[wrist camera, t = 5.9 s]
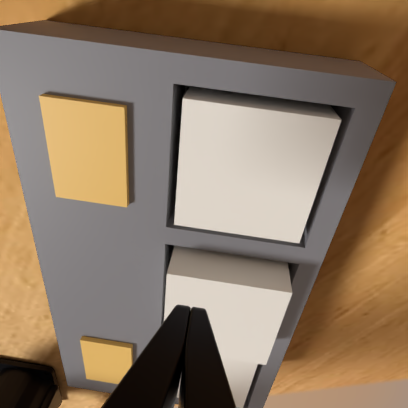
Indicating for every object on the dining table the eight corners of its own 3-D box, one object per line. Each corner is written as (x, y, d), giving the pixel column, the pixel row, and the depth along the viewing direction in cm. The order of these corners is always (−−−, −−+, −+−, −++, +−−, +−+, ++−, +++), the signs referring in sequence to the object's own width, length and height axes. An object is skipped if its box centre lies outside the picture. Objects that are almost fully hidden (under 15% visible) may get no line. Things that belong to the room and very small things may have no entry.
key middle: (171, 310, 20) (162, 348, 18) (176, 238, 17) (166, 273, 15) (263, 325, 20) (266, 365, 17) (286, 254, 16) (292, 293, 14)
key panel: (257, 364, 27) (259, 422, 23) (89, 337, 27) (65, 390, 24) (360, 61, 14) (399, 84, 11) (45, 20, 15) (-21, 28, 11)
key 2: (183, 195, 17) (173, 224, 15) (192, 82, 14) (182, 98, 12) (292, 211, 17) (299, 243, 14) (326, 100, 14) (341, 120, 11)
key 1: (169, 361, 25) (162, 395, 23) (173, 313, 22) (165, 347, 20) (243, 373, 25) (242, 408, 23) (257, 326, 22) (258, 361, 19)
